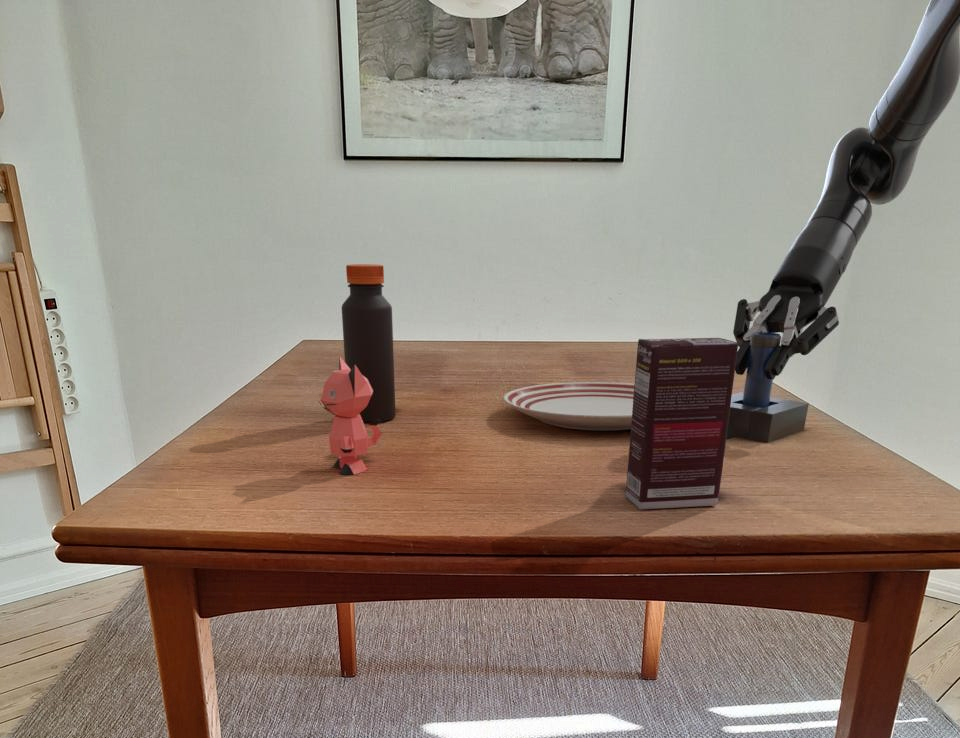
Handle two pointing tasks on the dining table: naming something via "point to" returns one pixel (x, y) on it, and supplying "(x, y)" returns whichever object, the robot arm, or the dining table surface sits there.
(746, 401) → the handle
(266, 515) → the dining table surface
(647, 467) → the supplement box
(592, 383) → the dinner plate
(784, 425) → the holder
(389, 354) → the bottle
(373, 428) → the cat figurine
